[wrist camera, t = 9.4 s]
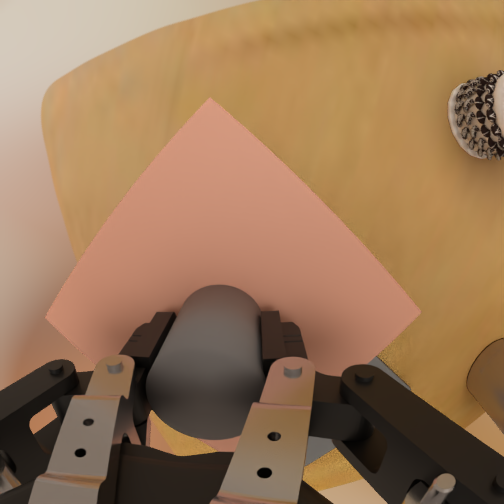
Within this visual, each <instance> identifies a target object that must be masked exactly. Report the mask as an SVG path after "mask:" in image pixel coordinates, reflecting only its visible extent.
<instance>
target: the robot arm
mask: <svg viewBox="0 0 504 504" xmlns="http://www.w3.org/2000/svg"><path fill="white" fill-rule="evenodd" d="M176 317H177V316H176V313H175V312H156V314H155V315H154V317H153V318H152V320H151V321H150V323H144V324H142V325H141V326H139V327H138V328H136V330H135V331H134V332H133V334H132V336H131V337H130V338H129V340H128V341H127V343H126V344H125V345H124V347H123V348H122V350H121V351H120V353H119V354H118V355H111V356H108V357H105V358H103V359H101V360H100V361H99V362H98V363H97V364H96V367H95V369H94V371H88V372H76V369H75V366H74V364H73V363H72V362H71V361H69V360H63V359H60V360H54V361H51V362H49V363H47V364H45V365H43V366H41V367H40V368H38V369H36V370H35V371H33V372H32V373H30V374H28V375H26V376H25V377H23V378H21V379H20V380H18V381H17V382H15V383H13V384H11V385H10V386H8V387H6V388H5V389H3V390H1V391H0V504H333V503H332V502H331V501H329V500H328V499H327V498H325V497H324V496H323V495H321V494H320V493H319V492H317V491H316V490H315V489H313V488H312V487H311V486H310V485H308V484H307V483H306V482H305V481H303V473H304V467H305V460H306V453H307V446H308V439H309V436H312V437H319V438H326V439H332V443H333V444H334V446H335V447H336V448H337V449H338V450H339V451H340V452H341V454H342V455H343V456H344V457H345V458H346V459H347V460H348V461H349V462H350V464H351V465H352V466H353V467H354V468H355V469H356V470H357V471H358V472H359V473H360V475H361V476H362V477H363V478H364V479H365V480H366V481H367V482H368V483H369V484H370V485H371V486H372V487H373V488H374V490H375V491H376V492H377V493H378V494H379V495H380V496H381V497H382V498H383V499H384V500H385V501H386V502H387V503H388V504H504V457H503V456H502V455H500V454H499V453H497V452H496V451H494V450H493V449H492V448H490V447H489V446H487V445H486V444H484V443H483V442H481V441H480V440H479V439H477V438H476V437H474V436H473V435H472V434H470V433H469V432H467V431H466V430H464V429H463V428H462V427H460V426H459V425H457V424H456V423H455V422H453V421H452V420H450V419H449V418H448V417H446V416H445V415H443V414H442V413H441V412H439V411H438V410H436V409H435V408H434V407H432V406H431V405H429V404H428V403H427V402H425V401H424V400H422V399H421V398H420V397H418V396H417V395H415V394H414V393H413V392H411V391H410V390H409V389H407V388H406V387H404V386H403V385H402V384H400V383H399V382H398V381H396V380H395V379H393V378H392V377H391V376H389V375H388V374H387V373H385V372H384V371H382V370H381V369H379V368H378V367H375V366H372V365H367V364H357V365H353V366H350V367H348V368H346V369H345V370H344V371H343V372H342V375H341V377H340V376H331V375H325V374H322V373H319V372H317V371H316V370H315V366H314V364H313V363H312V362H311V361H309V360H308V357H307V353H306V350H305V346H304V342H303V338H302V336H301V331H300V328H299V327H298V326H297V325H296V324H295V323H293V322H281V320H280V314H279V310H278V311H261V332H262V357H263V373H264V375H265V378H266V383H265V386H264V389H263V392H262V395H261V398H260V401H259V402H253V404H252V406H251V409H250V412H249V414H248V417H247V420H246V423H245V425H244V428H243V431H242V434H241V436H240V439H239V442H238V444H237V447H236V449H235V452H214V453H207V454H199V455H191V456H176V455H173V454H170V453H166V452H163V451H160V450H157V449H154V448H151V447H150V430H151V421H150V418H149V414H150V411H151V410H153V409H152V408H151V406H150V404H149V402H148V399H147V395H146V379H147V376H148V374H149V372H150V370H151V367H152V365H153V363H154V361H155V359H156V357H157V355H158V353H159V351H160V349H161V347H162V345H163V343H164V341H165V339H166V337H167V335H168V333H169V331H170V329H171V327H172V325H173V323H174V321H175V319H176ZM467 387H468V390H469V391H470V393H471V394H472V395H473V396H474V397H475V399H476V400H477V401H478V402H479V404H480V405H481V406H482V408H483V409H484V410H485V411H486V412H487V414H488V415H489V416H490V417H491V418H492V420H493V421H494V422H495V423H496V425H497V426H498V428H499V429H500V430H501V431H502V433H503V434H504V339H500V340H497V341H496V342H494V343H492V344H491V345H490V346H488V347H487V348H486V349H485V350H484V351H483V352H482V353H481V354H480V356H479V357H478V358H477V360H476V361H475V363H474V364H473V366H472V368H471V370H470V373H469V375H468V379H467ZM51 403H52V406H53V408H54V410H55V412H56V414H57V416H58V417H57V418H56V419H54V420H53V421H52V422H50V423H49V424H47V425H46V426H45V427H43V428H42V429H41V430H39V431H38V432H36V433H35V434H34V435H33V433H32V431H31V430H30V427H29V422H30V419H31V418H32V417H33V416H34V415H35V414H37V413H38V412H40V411H41V410H43V409H44V408H46V407H47V406H48V405H50V404H51Z"/></svg>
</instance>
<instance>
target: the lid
mask: <svg viewBox="0 0 504 504" xmlns="http://www.w3.org/2000/svg"><path fill="white" fill-rule="evenodd" d="M278 310H279V314H280V320H281V322H293V323H295V324H296V325H297V326H298V327H299V328H300V331H301V336H302V338H303V342H304V346H305V350H306V353H307V357H308V360H309V361H311V362H312V363H313V364H314V366H315V370H316V371H317V372H319V373H322V374H325V375H331V376H340V377H341V375H342V372H343V371H344V370H345V369H346V368H348V367H350V366H353V365H357V364H368V363H369V362H370V361H371V360H372V359H373V358H374V357H376V356H377V355H378V354H379V353H380V352H381V351H382V350H383V349H384V348H386V347H387V346H388V345H389V344H390V343H391V342H392V341H393V340H394V339H395V338H396V337H397V336H398V335H399V334H400V333H401V332H402V331H403V330H405V329H406V328H407V327H408V326H409V325H410V324H411V323H412V322H413V321H414V320H415V319H416V318H417V317H418V316H419V315H420V314H421V310H420V309H419V308H418V307H417V306H416V304H415V303H414V302H413V301H412V299H411V298H410V297H409V296H408V295H407V293H406V292H405V291H404V290H403V289H402V288H401V286H400V285H399V284H398V283H397V282H396V281H395V279H394V278H393V277H392V276H391V275H390V274H389V272H388V271H387V270H386V269H385V268H384V267H383V266H382V264H381V263H380V262H379V261H378V260H377V259H376V258H375V257H374V255H373V254H372V253H371V252H370V251H369V250H368V249H367V248H366V247H365V246H364V244H363V243H362V242H361V241H360V240H359V239H358V238H357V237H356V236H355V235H354V234H353V233H352V231H351V230H350V229H349V228H348V227H347V226H346V225H345V224H344V223H343V222H342V221H341V220H340V219H339V218H338V217H337V216H336V215H335V214H334V213H333V212H332V210H331V209H330V208H329V207H328V206H327V205H326V204H325V203H324V202H323V201H322V200H321V199H320V198H319V197H318V196H317V195H316V194H315V193H314V192H313V191H312V190H311V189H310V188H309V187H308V186H307V185H306V184H305V183H304V182H303V181H302V180H301V179H300V178H299V177H298V176H297V175H296V174H295V173H293V172H292V171H291V170H290V169H289V168H288V167H287V166H286V165H285V164H284V163H283V162H282V161H281V160H280V159H279V158H278V157H277V156H276V155H275V154H273V153H272V152H271V151H270V150H269V149H268V148H267V147H266V146H265V145H264V144H263V143H262V142H260V141H259V140H258V139H257V138H256V137H255V136H254V135H253V134H252V133H251V132H249V131H248V130H247V129H246V128H245V127H244V126H243V125H242V124H240V123H239V122H238V121H237V120H236V119H235V118H234V117H232V116H231V115H230V114H229V113H228V112H227V111H226V110H224V109H223V108H222V107H221V106H220V105H219V104H217V103H216V102H215V101H214V100H213V99H211V98H209V99H208V100H207V101H206V102H205V103H204V104H203V105H202V106H201V107H200V108H199V109H198V110H197V111H196V112H195V113H194V114H193V116H192V117H191V118H190V119H189V120H188V121H187V122H186V123H185V124H184V125H183V126H182V127H181V129H180V130H179V131H178V132H177V133H176V134H175V135H174V136H173V138H172V139H171V140H170V141H169V142H168V143H167V144H166V146H165V147H164V148H163V149H162V150H161V151H160V153H159V154H158V155H157V156H156V157H155V158H154V160H153V161H152V162H151V163H150V164H149V166H148V167H147V168H146V169H145V171H144V172H143V173H142V174H141V176H140V177H139V178H138V179H137V181H136V182H135V183H134V184H133V186H132V187H131V188H130V189H129V191H128V192H127V193H126V195H125V196H124V197H123V199H122V200H121V201H120V203H119V204H118V205H117V207H116V208H115V209H114V211H113V212H112V213H111V215H110V216H109V218H108V219H107V220H106V222H105V223H104V224H103V226H102V227H101V229H100V230H99V232H98V233H97V234H96V236H95V237H94V239H93V240H92V242H91V243H90V245H89V246H88V248H87V249H86V251H85V252H84V254H83V255H82V257H81V258H80V260H79V261H78V263H77V264H76V266H75V268H74V269H73V271H72V272H71V274H70V275H69V277H68V279H67V281H66V282H65V284H64V285H63V287H62V289H61V290H60V292H59V294H58V295H57V297H56V299H55V300H54V302H53V304H52V306H51V307H50V309H49V311H48V313H47V314H46V316H45V318H46V319H47V320H48V321H49V322H50V323H51V324H52V325H53V326H54V327H55V328H56V329H57V330H58V331H59V332H60V333H61V334H62V335H63V336H64V337H65V338H66V339H67V340H69V341H70V342H71V343H72V344H73V345H74V346H75V347H76V348H77V349H78V350H79V351H80V352H82V353H83V354H84V355H85V356H86V357H87V358H88V359H89V360H91V361H92V362H93V363H94V364H95V365H96V364H97V363H98V362H99V361H100V360H101V359H103V358H105V357H108V356H111V355H118V354H119V353H120V351H121V350H122V348H123V347H124V345H125V344H126V343H127V341H128V340H129V338H130V337H131V336H132V334H133V332H134V331H135V330H136V328H138V327H139V326H141V325H142V324H144V323H150V321H151V320H152V318H153V317H154V315H155V314H156V312H175V313H176V316H177V317H176V319H175V321H174V323H173V325H172V327H171V329H170V331H169V333H168V335H167V337H166V339H165V341H164V343H163V345H162V347H161V349H160V351H159V353H158V355H157V357H156V359H155V361H154V363H153V365H152V367H151V370H150V372H149V374H148V376H147V379H146V395H147V399H148V402H149V404H150V406H151V408H152V409H153V411H154V412H155V414H156V415H157V416H158V417H159V418H160V419H161V420H162V421H163V422H164V423H166V424H167V425H168V426H170V427H171V428H173V429H175V430H176V431H178V432H181V433H183V434H185V435H188V436H191V437H195V438H197V439H199V440H201V441H202V442H204V443H206V444H207V445H209V446H211V447H212V448H214V449H216V450H218V451H219V452H235V449H236V447H237V444H238V442H239V439H240V436H241V434H242V431H243V428H244V425H245V423H246V420H247V417H248V414H249V412H250V409H251V406H252V404H253V402H259V401H260V398H261V395H262V392H263V389H264V386H265V383H266V378H265V375H264V373H263V357H262V332H261V311H278Z"/></svg>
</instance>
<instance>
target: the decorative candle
mask: <svg viewBox="0 0 504 504" xmlns="http://www.w3.org/2000/svg"><path fill="white" fill-rule="evenodd" d="M448 120H449V123H450V127H451V131H452V133H453V135H454V137H455V138H456V140H457V142H458V144H459V145H460V147H461V148H463V149H464V150H465V151H466V152H467V153H468V154H469V155H471V156H474V157H477V158H480V159H484V158H487V159H488V160H491V158H492V156H493V155H495V157H496V159H497V160H500V159H501V157H504V71H502V70H499V71H498V72H497V75H496V74H488V76H487V77H477V78H476V79H475V80H469V81H467V83H462V84H460V85H459V86H457V87H456V88H455V89H454V90H453V91H452V93H451V96H450V98H449V101H448Z"/></svg>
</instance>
